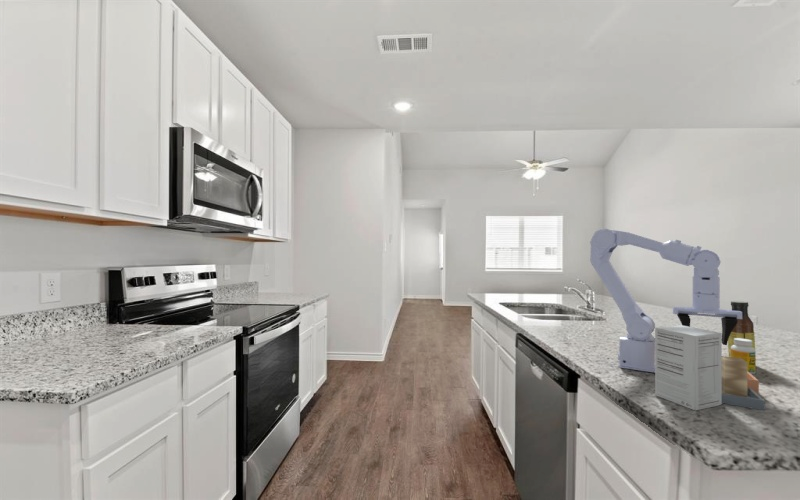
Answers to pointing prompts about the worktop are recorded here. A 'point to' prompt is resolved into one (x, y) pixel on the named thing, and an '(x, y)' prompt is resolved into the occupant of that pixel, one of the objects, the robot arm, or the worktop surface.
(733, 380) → the maple peg
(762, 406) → the slate tray
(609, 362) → the worktop surface
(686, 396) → the supplement box
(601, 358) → the worktop surface
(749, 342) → the supplement bottle
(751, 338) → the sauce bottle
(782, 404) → the worktop surface
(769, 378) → the worktop surface
